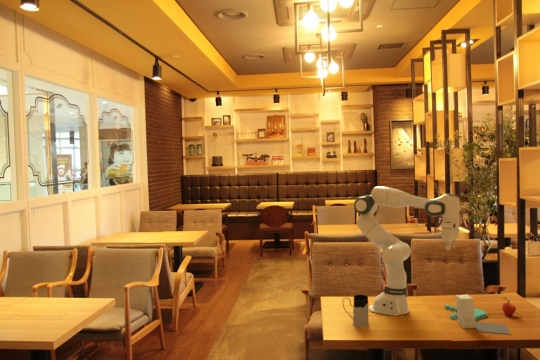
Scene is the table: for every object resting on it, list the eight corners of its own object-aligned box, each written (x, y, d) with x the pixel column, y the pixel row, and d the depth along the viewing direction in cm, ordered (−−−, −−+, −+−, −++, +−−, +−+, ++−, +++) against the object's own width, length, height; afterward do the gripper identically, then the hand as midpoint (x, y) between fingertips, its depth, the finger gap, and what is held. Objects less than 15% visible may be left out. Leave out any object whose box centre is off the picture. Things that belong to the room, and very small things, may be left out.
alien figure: (450, 320, 258) (489, 322, 254) (450, 316, 258) (489, 318, 254) (444, 308, 278) (481, 310, 274) (444, 304, 278) (481, 306, 274)
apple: (511, 313, 267) (511, 295, 266) (518, 317, 260) (518, 299, 259) (498, 313, 267) (498, 296, 266) (504, 317, 260) (504, 299, 259)
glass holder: (367, 328, 246) (367, 299, 245) (341, 325, 251) (340, 297, 250) (370, 322, 254) (370, 295, 254) (344, 319, 259) (344, 292, 259)
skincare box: (475, 328, 243) (474, 298, 243) (463, 329, 243) (461, 299, 243) (469, 322, 252) (467, 293, 251) (456, 323, 252) (455, 294, 251)
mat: (476, 331, 240) (476, 330, 240) (472, 322, 253) (472, 321, 253) (510, 334, 235) (510, 334, 235) (505, 325, 248) (505, 324, 248)
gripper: (450, 221, 268) (450, 245, 268) (439, 224, 251) (439, 250, 252) (462, 222, 264) (461, 246, 264) (451, 225, 248) (451, 251, 248)
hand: (450, 248), depth 258 cm, fingers open, 8 cm apart
